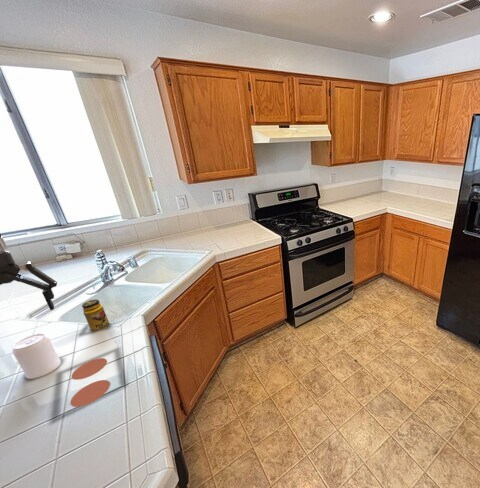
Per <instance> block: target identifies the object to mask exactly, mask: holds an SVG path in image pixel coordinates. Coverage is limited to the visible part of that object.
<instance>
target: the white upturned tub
mask: <svg viewBox="0 0 480 488" xmlns="http://www.w3.org/2000/svg"><path fill="white" fill-rule="evenodd" d="M11 352H12V354H13V356H14V358H15V359H16V361H17V363H18V365H19V367H20V368H21V370H22V372H23V374H24V375H25V377H26V378H27V379H29V380H32V379H39V378H40V377H43V376H46V375H47V374H50V373H51V372H53V371H54V370H55V369H57V368H58V367H59V366H60V365H61V359H60V357H59V355H58V353H57V351H56V349H55V347H54V345H53V343H52V341H51V339H50V337H49V336H48V335H46V334H45V333H36V334H32V335H29V336H26V337H24V338H21V339H20V340H18V341H17V342H16V343H15V344H13V345H12V351H11Z"/></svg>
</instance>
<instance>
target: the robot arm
mask: <svg viewBox="0 0 480 488" xmlns="http://www.w3.org/2000/svg"><path fill="white" fill-rule="evenodd" d="M8 249H9V248H8V245H7V243H6V241H5V239H4V237H3V236H2V234H1V233H0V286H1V285H4V284H5V285H6V284H11V283H13V282H14V281H16V282H18V283H23V284H25V285H28V286H31V287H33V288H36V289H39V290H42V292H41V294H42V296H43V298H44V300H45V302H46V304H47V306H48V308H49V310H50V311H54V310H55V304H54V302H53V300H55V294H54V291H53V290H52V289H53V288H56V287H57V286H58V281H56V280H55V279H54V278H52V277H50V276H49V275H47V274H46V273H44V272H43V271H41V270H40V269H38V268H37V267H35V265H34V264H33V262H32V261H27V262H26V263H24V264H20V265H18V264H17V263H16V262H15V259H14V257H13V256H12V253H11V252H10V251H9V250H8ZM21 270H23V271H26V272H30V274H31V275H33V276H35V277H36V278H38V279H39V280H36V279H35V278H34V279H33V278H31V277H28V276H26V275H24V274H22V273H20V271H21ZM40 280H41V281H40Z"/></svg>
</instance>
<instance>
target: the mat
mask: <svg viewBox="0 0 480 488" xmlns="http://www.w3.org/2000/svg"><path fill="white" fill-rule="evenodd" d="M107 364H108V360H107V359H106V358H104V357H100V358H99V357H98V358H94V359H91V360H89V361H87V362H84V363H83V364H81V365H80V366H78V367H77V368H75V370H74V371H73V372H72V374H71V379H72V380H77V381H78V380H84V379H87V378H89V377H92V376H93V375H96V374H97V373H98V372H100V371H101V370H103V369H104V368H105V367H106V365H107ZM110 387H111V382H110V380H107V379H101V380H96V381H94V382H91V383H89V384H87V385H85V386H84V387H81V388H80V389H79V390H78V391H77V392H75V394H74V395H73V396H72V397H71V398H70V403H69V404H70V405H71V407H74V408H79V407H84V406H87V405H89V404H92V403H94V402H95V401H97V400H98V399H100V398H101V397H103V396H104V395H105V394H106V393H107V392H108V391H109V390H110Z"/></svg>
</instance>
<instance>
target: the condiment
mask: <svg viewBox="0 0 480 488" xmlns="http://www.w3.org/2000/svg"><path fill="white" fill-rule="evenodd" d="M81 308H82V310H83V316H84V318H85V320H86V322H87V325H88V327H89V329H90V330H91V331H100V330H102V329H104V328H106V327H107V326H108V325H109V324H110V321H109V319H108V316H107V314H106V311H105V309H104V306H103V305H102V304H101V302H100V300H99V299H97V298H96V299H90V300H87V301H85V302H84V303H82V305H81Z"/></svg>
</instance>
